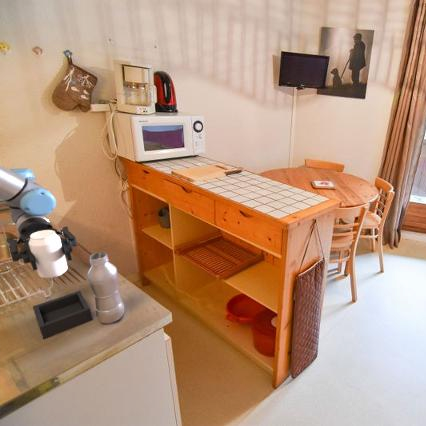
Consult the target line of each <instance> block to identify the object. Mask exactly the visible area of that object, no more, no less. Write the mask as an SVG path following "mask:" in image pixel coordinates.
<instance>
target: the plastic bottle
mask: <svg viewBox="0 0 426 426" xmlns="http://www.w3.org/2000/svg"><path fill="white" fill-rule="evenodd" d="M89 263H90V264H89V265H90V268H89V269H88V271H87V275H86V278H87V281H88V283H89V286H90V287H91V290H92V293H93V297H94V299H95V301H94V302H95V317H96V320H98V322H100V323H102V324H111V323H115V322H117V321H118V320H121V318H122V317H123V315H124V313H125V308H126V307H125V304H124V302H123V299H122V298H121V294H120V291H119V284H118V268H117V267H116V266H115V265H114V264H113V263H112V262H110V258H109V257H108V253H107V252H105V251H100V252H95V253H92V254H91V255H90V256H89Z"/></svg>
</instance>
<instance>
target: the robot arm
mask: <svg viewBox="0 0 426 426" xmlns="http://www.w3.org/2000/svg"><path fill="white" fill-rule="evenodd" d="M0 200H2V201H4V202H5V203H8V208H9V212H10V217H11V219H12V222H13V223H14V224H15V228H16V230H17V233H18V235H19V236H18V238H11V237H10V238H6V239H5V240H6V243H7V247H8V249H9V254H10V257H11V259H12V261H13V262H18V261H20V260H22V262H23V263H24V264H25V265H26V264H30V265H31V268H32V270H33V271H37V265H36V262H35V259H34V257H33V255H32V253H31V250H30V247H29V241H30V236H31V235H32V234H33V233H35V232H38V231H43V230H53V231H55V233H56V234H57V235H58V236H59V237H60V240H61V244H62V248H63V252H64V255H65V259H66V260H67V261H68V262H70V261H73V258H72V255H71V253H73V252H74V249H73V247H74V248H75V247H77V246H78V242H77V237H76V236H75V235H74V234H73V233H72V232H71V231H70V230H69V226H63V227H62V228H60V229H57V228H54V227H53V225H52V224H51V222H50V220H49V218H48V217H47V215H49V214H51V213H52V212H53V211H54V209H56V206H57V200H56V197H55V196H54V195H53V194H52V192H51V191H50V190H47V189H46V188H44V187H42V186H41V185H40V184H39V183H38V182H36V177H35V175H34V172H33V170H32V169H30V168H23V167H19V168H18V167H17V168H7V167H5V166H3V165H2V164H0ZM20 244H23V245H22V247H21V248H20V251H19V247H20Z"/></svg>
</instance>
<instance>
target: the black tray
mask: <svg viewBox="0 0 426 426" xmlns="http://www.w3.org/2000/svg"><path fill="white" fill-rule="evenodd" d="M32 309H33V312H34V315H35V318H36V322H37V325H38V328H39V331H40V333H41V337H42V339H43V340H46V339H48V338H50V337H51V338H52V337H54V336H56V335H58V334H61V333H63V332H66V331H69V330H71V329H74V328H76V327H78V326H81V325H83V324H87V323H89V322H91V321H93V320H94V318H93V315H92V311H91V308H90V306H89V304H88V302H87V301H86V299H85V297H84V295H83V292H82V291H81V290H78V291H75V292H71V293H69V294H66V295H63V296H60V297H57V298H54V299H51V300H48V301H45V302H41V303H39V304H36V305H33V306H32Z"/></svg>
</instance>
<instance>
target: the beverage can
mask: <svg viewBox="0 0 426 426" xmlns="http://www.w3.org/2000/svg"><path fill="white" fill-rule="evenodd" d="M59 236H60V235H59V234H58V235H57V234H56V233H55V231H53V230H43V231H38V232H35V233H33V234H32V235H31V236H30V241H29V247H30V250H31V253H32V255H33V257H34V259H35V262H36V265H37V270H36V273H37V275H38V276H39V277H40V278H43V279H44V278H45V279H53V278H58V277H59V276H61V275H64V273H65V272H67V271H68V262H67V258H66V256H65V254H64V252H63V248H62V244H61V240H60V237H61V236H60V237H59Z"/></svg>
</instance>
